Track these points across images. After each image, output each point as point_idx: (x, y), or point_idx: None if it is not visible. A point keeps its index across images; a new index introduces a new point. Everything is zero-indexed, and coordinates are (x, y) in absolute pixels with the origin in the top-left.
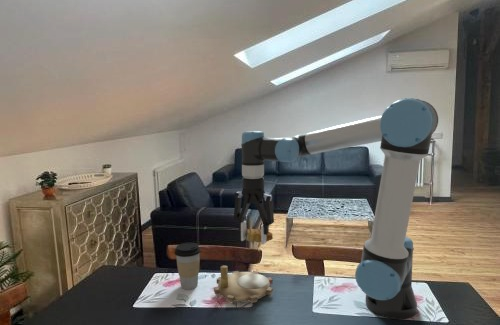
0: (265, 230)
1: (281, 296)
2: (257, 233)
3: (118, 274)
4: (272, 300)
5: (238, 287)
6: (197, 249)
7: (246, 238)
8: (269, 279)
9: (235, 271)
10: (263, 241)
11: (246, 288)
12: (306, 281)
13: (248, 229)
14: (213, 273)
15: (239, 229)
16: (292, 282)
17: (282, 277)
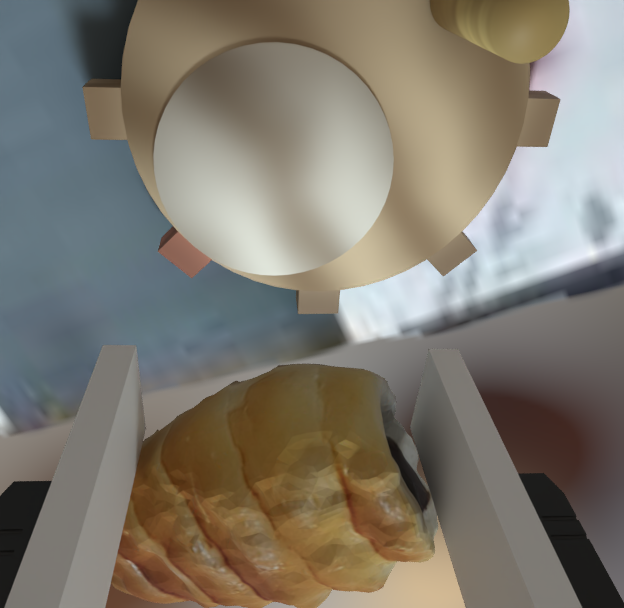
0: (6, 553)
1: (45, 132)
2: (234, 501)
3: None
4: (71, 52)
5: (343, 32)
6: None
7: (411, 428)
8: (179, 244)
9: (455, 261)
10: (93, 382)
11: (274, 42)
12: (13, 360)
13: (410, 544)
14: (604, 244)
15: (550, 488)
16: (82, 321)
17: (168, 351)
